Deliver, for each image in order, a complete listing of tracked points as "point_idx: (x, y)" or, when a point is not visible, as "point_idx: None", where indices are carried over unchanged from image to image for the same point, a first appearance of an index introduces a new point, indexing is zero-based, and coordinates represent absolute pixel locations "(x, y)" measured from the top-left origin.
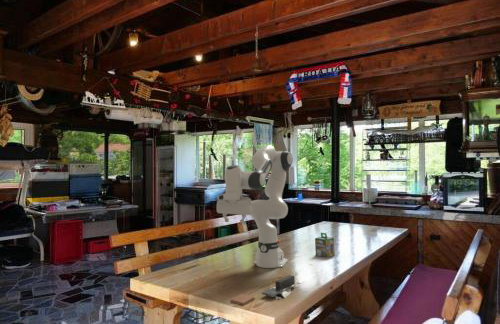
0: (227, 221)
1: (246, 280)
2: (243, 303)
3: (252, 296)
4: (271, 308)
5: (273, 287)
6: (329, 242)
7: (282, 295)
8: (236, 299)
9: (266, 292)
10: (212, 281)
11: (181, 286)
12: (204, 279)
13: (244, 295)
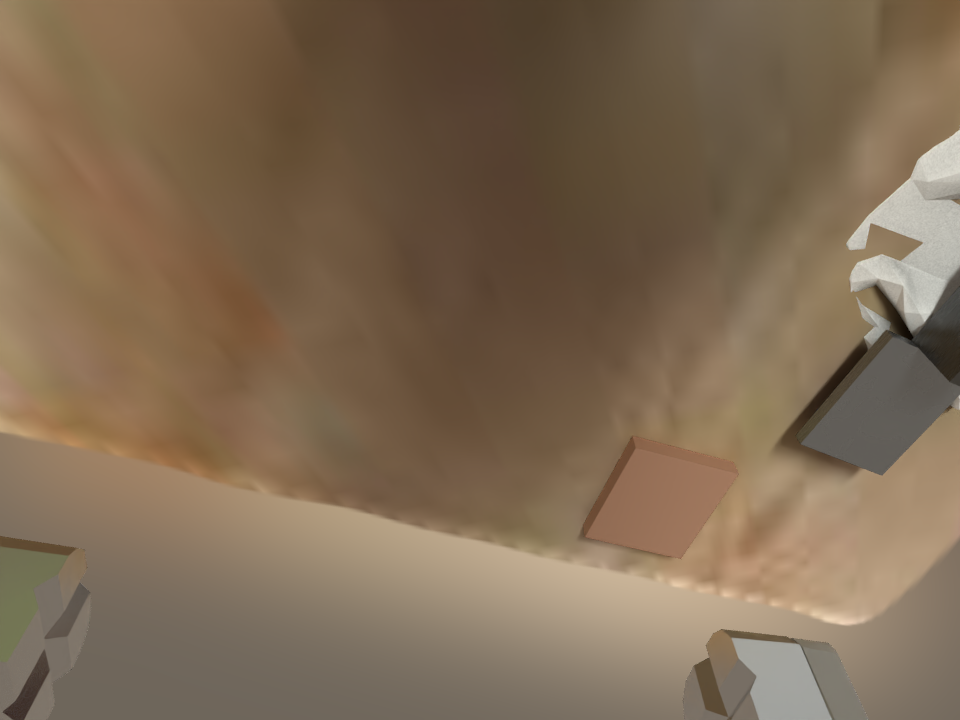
0: (78, 632)
1: (579, 63)
2: (678, 555)
3: (724, 470)
4: (854, 548)
5: (885, 206)
6: None
7: (953, 402)
8: (621, 530)
9: (836, 439)
10: (235, 186)
11: (56, 370)
12: (115, 147)
13: (662, 468)
